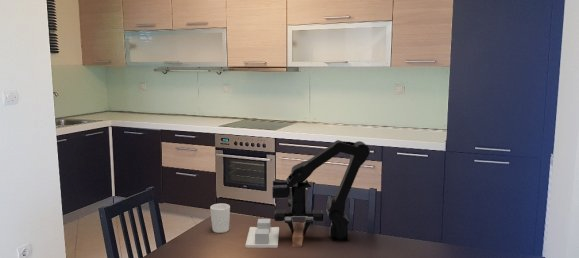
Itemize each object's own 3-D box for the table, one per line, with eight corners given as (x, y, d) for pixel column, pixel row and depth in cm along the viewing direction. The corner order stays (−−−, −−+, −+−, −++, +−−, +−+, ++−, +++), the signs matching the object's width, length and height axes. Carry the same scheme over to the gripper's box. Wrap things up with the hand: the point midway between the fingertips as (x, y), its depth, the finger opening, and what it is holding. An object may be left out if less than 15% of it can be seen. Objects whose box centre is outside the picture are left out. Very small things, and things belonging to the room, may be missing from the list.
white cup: (220, 235, 186) (220, 211, 185) (207, 230, 191) (206, 207, 189) (234, 229, 192) (233, 205, 191) (220, 224, 197) (220, 202, 196)
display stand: (279, 229, 192) (279, 217, 191) (277, 247, 174) (277, 234, 173) (250, 229, 192) (249, 217, 191) (245, 247, 174) (245, 234, 173)
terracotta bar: (304, 231, 190) (304, 222, 189) (301, 247, 175) (301, 237, 174) (295, 231, 190) (295, 222, 189) (292, 246, 175) (292, 236, 175)
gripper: (321, 191, 188) (321, 228, 190) (275, 191, 188) (275, 228, 190) (323, 200, 177) (323, 239, 179) (274, 200, 177) (274, 239, 179)
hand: (298, 236), depth 182 cm, fingers closed on terracotta bar, 4 cm apart
